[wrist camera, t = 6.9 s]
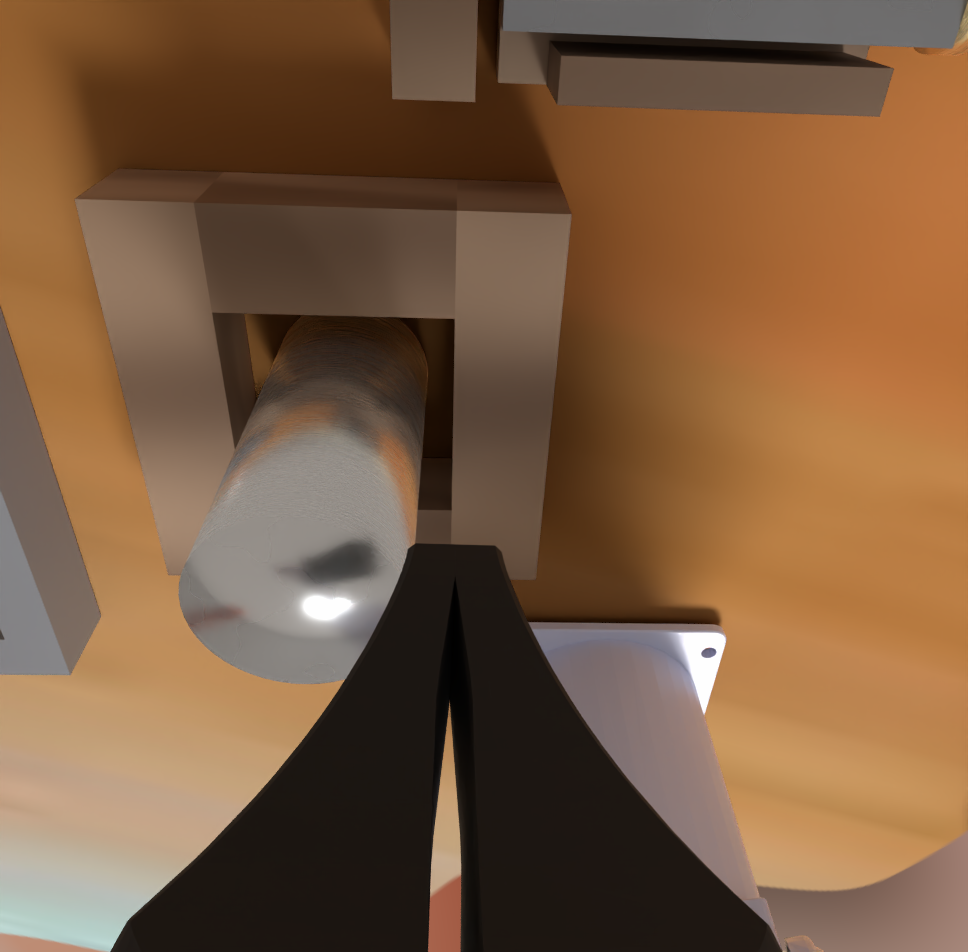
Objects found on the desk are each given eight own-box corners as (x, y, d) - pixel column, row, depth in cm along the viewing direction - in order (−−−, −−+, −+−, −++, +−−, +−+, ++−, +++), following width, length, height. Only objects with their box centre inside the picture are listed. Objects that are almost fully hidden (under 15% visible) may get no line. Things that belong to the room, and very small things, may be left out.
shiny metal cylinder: (428, 436, 23) (411, 684, 15) (286, 434, 22) (199, 683, 15) (428, 303, 20) (407, 519, 13) (270, 299, 20) (158, 514, 13)
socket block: (529, 525, 24) (535, 579, 22) (193, 519, 24) (168, 575, 22) (559, 182, 19) (571, 214, 17) (118, 168, 18) (74, 198, 16)
